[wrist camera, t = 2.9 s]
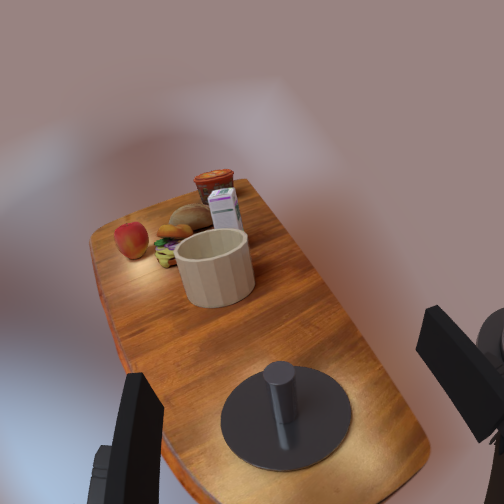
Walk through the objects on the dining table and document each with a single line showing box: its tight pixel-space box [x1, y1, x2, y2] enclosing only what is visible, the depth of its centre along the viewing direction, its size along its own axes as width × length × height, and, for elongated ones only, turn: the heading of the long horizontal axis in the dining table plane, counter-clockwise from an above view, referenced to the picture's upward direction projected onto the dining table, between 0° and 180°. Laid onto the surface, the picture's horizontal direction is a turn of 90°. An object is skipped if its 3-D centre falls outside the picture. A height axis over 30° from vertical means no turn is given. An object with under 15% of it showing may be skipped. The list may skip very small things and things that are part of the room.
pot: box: [173, 228, 255, 308], centre depth 55 cm, size 14×14×10 cm
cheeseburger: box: [154, 224, 194, 268], centre depth 71 cm, size 10×11×10 cm
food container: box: [194, 169, 234, 204], centre depth 114 cm, size 16×16×11 cm
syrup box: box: [208, 188, 244, 232], centre depth 69 cm, size 6×6×14 cm
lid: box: [221, 361, 351, 471], centre depth 28 cm, size 15×15×9 cm
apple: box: [114, 222, 149, 259], centre depth 75 cm, size 10×10×10 cm
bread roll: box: [169, 204, 213, 230], centre depth 87 cm, size 10×15×8 cm, turn 108°
